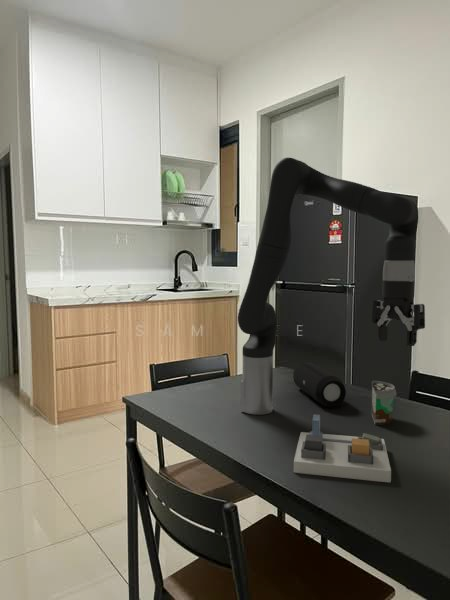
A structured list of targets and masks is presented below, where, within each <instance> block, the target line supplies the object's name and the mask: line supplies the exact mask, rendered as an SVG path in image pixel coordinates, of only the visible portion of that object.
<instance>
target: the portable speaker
mask: <svg viewBox="0 0 450 600" xmlns="http://www.w3.org/2000/svg"><path fill="white" fill-rule="evenodd" d="M293 382H294V383H295V385H296V386H297V388H300V389H301V390H302V391H303V392H305V393H306V395H309V396H310V397H311V398H312V399H313V400H315V401H316V402H318V403H319V404H320V405H322V406H324V407H326V408H332V407H338V406H339V405H341V404H342V403H343V402H344V400H345V399H346V395H347V391H346V387H345V383H344V382H343V381H342V380H341V378H340V377H338V376H336V375H334V374H332V373H330V372H329V371H327V370H325V369H323V368H322V367H320V366H318V365H316V364H315V363H312V362H309V361H306V362H301V363H299V364H297V365H296V367H295V368H294V370H293Z"/></svg>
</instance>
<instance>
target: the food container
mask: <svg viewBox="0 0 450 600" xmlns="http://www.w3.org/2000/svg"><path fill="white" fill-rule="evenodd" d="M397 395H398V394H397V389H396V388H395V386H394V384H392V383H389V382H386V381H379V380H371V416H372V419H373V422H374V426H386V425H389V424H391V423H392V420H393V419H392V418H393V409H394V402H395V401H394V400H395V398H396V396H397ZM385 424H386V425H385Z"/></svg>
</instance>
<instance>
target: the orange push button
mask: <svg viewBox="0 0 450 600" xmlns="http://www.w3.org/2000/svg"><path fill="white" fill-rule="evenodd" d="M352 454H359V455H369V440H367V439H355V438H352Z"/></svg>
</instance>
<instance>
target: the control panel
mask: <svg viewBox="0 0 450 600" xmlns="http://www.w3.org/2000/svg"><path fill="white" fill-rule="evenodd" d="M307 434H308V435H310V432H305V431H301V432H300V435H299V438H298V442H297V446H296V450H295V454H294V458H293V459H294V460H293V473H296V474H304V475H313V476H325V477H334V478H343V479H353V480H361V481H362V480H363V481H370V482H379V483H382V482H383V483H392V482H391V481H392V467H391V465H390V464H391V463H390V461H389V455H388V452H387V446H386V443H385V439H384V438H379V445H373V444H369V455H359V454H352V438H355V439H362V436H355V435H352V436H351V435H340V434H328V433H323V441H322V451H316V450H305V439H306V435H307Z"/></svg>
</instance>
